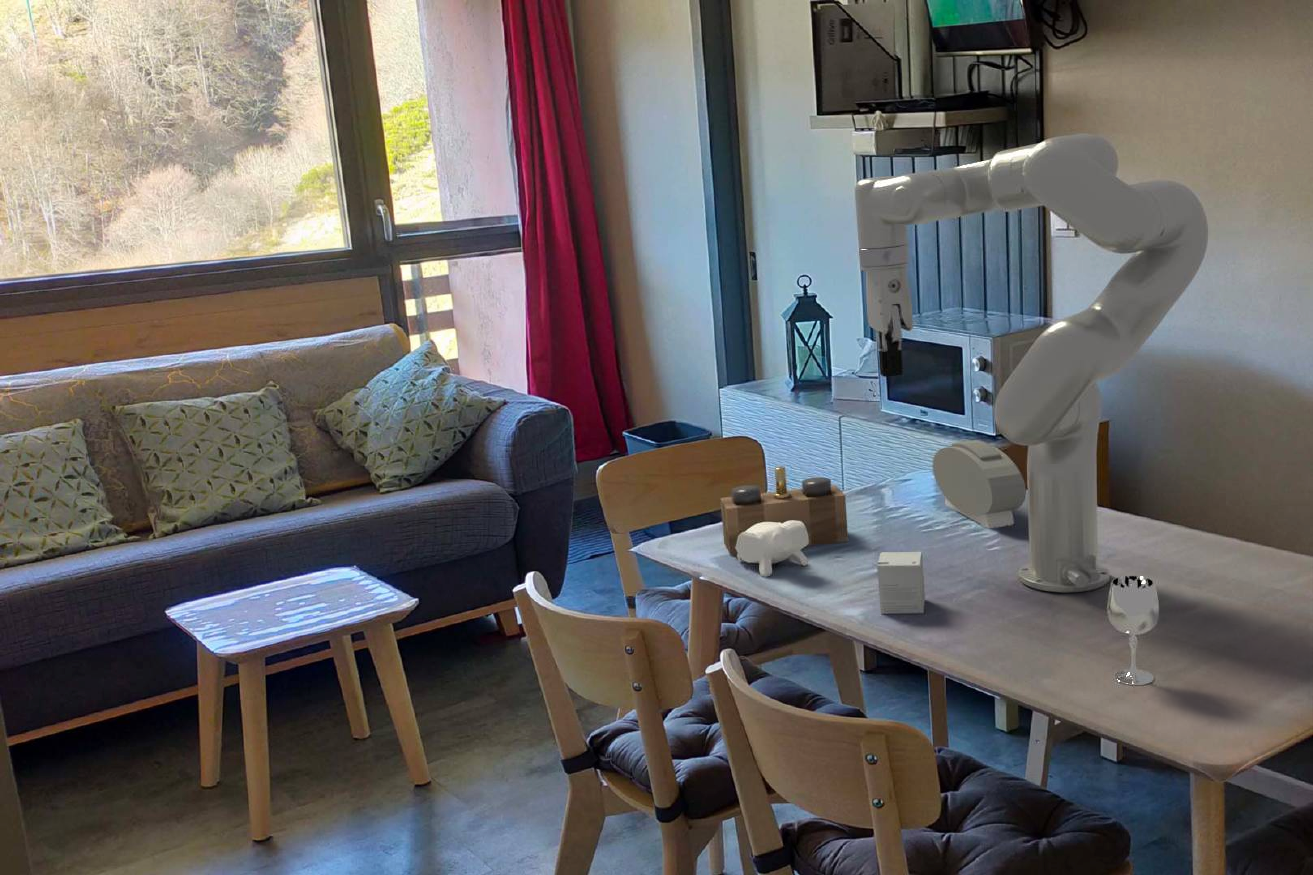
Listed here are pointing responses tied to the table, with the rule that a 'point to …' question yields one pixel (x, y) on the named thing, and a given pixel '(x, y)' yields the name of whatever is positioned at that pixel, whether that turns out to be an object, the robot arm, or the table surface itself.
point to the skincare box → (901, 582)
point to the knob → (816, 487)
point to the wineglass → (1133, 618)
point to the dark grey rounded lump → (746, 495)
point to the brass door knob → (781, 484)
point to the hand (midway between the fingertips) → (891, 374)
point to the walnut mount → (789, 516)
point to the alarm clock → (979, 482)
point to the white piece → (772, 544)
